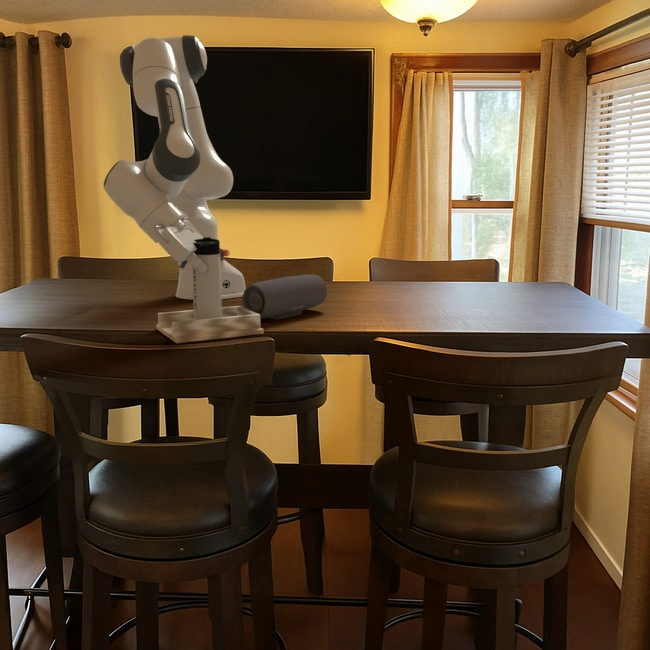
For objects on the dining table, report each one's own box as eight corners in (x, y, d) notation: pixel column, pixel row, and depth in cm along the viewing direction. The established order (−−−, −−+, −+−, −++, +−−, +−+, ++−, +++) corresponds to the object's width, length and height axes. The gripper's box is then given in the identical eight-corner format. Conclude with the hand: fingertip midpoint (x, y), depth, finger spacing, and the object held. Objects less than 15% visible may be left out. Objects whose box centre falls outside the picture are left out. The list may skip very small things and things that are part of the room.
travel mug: (223, 323, 160) (220, 237, 156) (221, 329, 154) (218, 239, 149) (196, 323, 160) (193, 237, 155) (192, 330, 153) (189, 239, 149)
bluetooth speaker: (301, 307, 186) (301, 270, 184) (328, 312, 180) (328, 274, 178) (240, 320, 168) (239, 280, 166) (268, 326, 163) (267, 284, 161)
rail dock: (237, 320, 168) (237, 304, 167) (263, 333, 154) (263, 316, 154) (156, 328, 159) (155, 311, 158) (176, 343, 145) (175, 324, 144)
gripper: (161, 216, 141) (210, 264, 143) (184, 211, 161) (227, 253, 163) (141, 237, 142) (190, 285, 144) (166, 230, 162) (209, 271, 164)
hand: (210, 268), depth 154 cm, fingers open, 6 cm apart
